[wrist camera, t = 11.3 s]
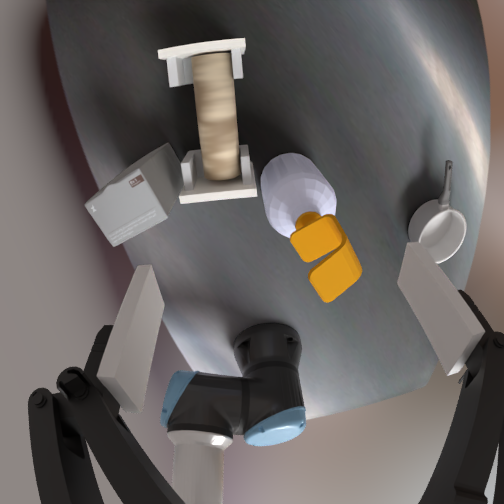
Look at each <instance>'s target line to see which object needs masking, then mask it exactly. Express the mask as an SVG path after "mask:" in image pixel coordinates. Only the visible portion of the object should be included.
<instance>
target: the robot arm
mask: <svg viewBox="0 0 504 504" xmlns="http://www.w3.org/2000/svg"><path fill="white" fill-rule="evenodd" d="M397 284H398V286H399V288H400V289H401V291H402V293H403V294H404V296H405V298H406V299H407V301H408V303H409V305H410V306H411V308H412V310H413V312H414V313H415V315H416V317H417V319H418V320H419V322H420V324H421V326H422V328H423V330H424V331H425V333H426V335H427V337H428V339H429V341H430V343H431V345H432V347H433V348H434V350H435V352H436V354H437V356H438V358H439V360H440V362H441V364H442V366H443V368H444V371H445V373H446V375H447V376H448V375H451V374H454V373H457V372H459V371H460V370H461V369H462V367H463V366H464V364H466V366H467V368H468V369H467V370H466V372H465V373H464V375H463V376H462V377H461V379H460V380H459V382H458V383H459V384H460V383H461V381H462V380H463V379H464V380H463V384H462V389H461V393H460V396H459V400H458V404H457V407H456V411H455V414H454V417H453V421H452V424H451V427H450V430H449V433H448V436H447V439H446V442H445V444H444V447H443V450H442V453H441V455H440V458H439V460H438V463H437V465H436V468H435V470H434V472H433V475H432V477H431V479H430V482H429V484H428V486H427V488H426V490H425V492H424V494H423V496H422V499H421V500H420V502H419V503H418V504H487V503H488V500H487V497H486V496H485V495H484V491H485V488H486V485H487V482H488V479H489V475H490V473H491V469H492V466H493V462H494V459H495V455H496V451H497V447H498V443H499V450H498V451H499V452H498V466H497V476H496V485H495V494H494V500H493V504H504V334H503V333H501V332H494V331H493V330H492V328H491V327H490V325H489V324H488V322H487V321H486V319H485V318H484V316H483V315H482V313H481V312H480V311H479V310H478V308H477V306H476V305H474V302H473V301H472V299H471V298H470V297H469V295H467V294H466V293H465V292H464V291H462V290H457V289H456V288H455V287H454V285H453V284H452V283H451V281H450V280H449V279H448V277H447V276H446V275H445V274H444V272H443V271H442V270H441V268H440V267H439V266H438V265H437V263H436V262H435V261H434V260H433V258H432V257H431V256H430V255H429V254H428V252H427V251H426V250H425V249H424V247H423V246H422V245H421V244H420V243H419V242H411V243H407V246H406V250H405V254H404V259H403V263H402V267H401V271H400V274H399V278H398V282H397ZM164 306H165V304H164V301H163V298H162V295H161V292H160V289H159V286H158V283H157V280H156V277H155V274H154V271H153V268H152V264H150V265H138V266H137V268H136V270H135V273H134V275H133V278H132V280H131V282H130V285H129V287H128V290H127V292H126V295H125V297H124V300H123V302H122V305H121V308H120V310H119V313H118V315H117V318H116V321H115V323H114V325H104V326H103V328H102V329H101V330H100V331H99V332H98V334H97V336H96V339H95V342H94V345H93V347H92V349H91V352H90V355H89V357H88V361H87V363H86V366H85V369H84V371H83V370H82V369H81V368H78V367H69V368H67V369H65V370H64V371H63V372H61V374H60V375H59V376H58V379H57V382H56V384H57V389H58V390H59V391H60V393H56V394H52V393H51V392H50V391H49V390H48V389H46V388H38V389H37V390H35V391H34V392H33V393H32V394H31V395H30V397H29V401H28V414H29V429H30V440H31V449H32V457H33V464H34V470H35V475H36V481H37V486H38V491H39V496H40V500H41V504H104V502H103V499H102V496H101V494H100V490H99V488H98V484H97V481H96V478H95V474H94V471H93V467H92V463H91V460H90V456H89V452H88V448H87V444H86V441H87V443H88V445H89V447H90V449H91V450H92V452H93V454H94V456H95V458H96V460H97V462H98V463H99V465H100V467H101V469H102V470H103V472H104V474H105V476H106V477H107V479H108V480H109V482H110V484H111V485H112V487H113V489H114V490H115V491H116V493H117V495H118V496H119V498H120V499H121V501H122V502H123V504H223V465H224V463H223V462H224V450H225V449H226V448H227V447H228V446H229V445H230V444H231V443H232V442H233V435H244V440H245V441H246V443H247V444H250V445H253V446H268V445H274V444H278V443H282V442H285V441H288V440H291V439H293V438H294V437H296V436H298V435H299V434H300V433H302V431H303V430H304V428H305V426H306V417H305V411H306V409H305V407H304V401H303V396H302V390H301V385H300V379H299V374H298V366H299V362H300V357H301V352H302V345H301V340H300V336H299V335H298V333H297V332H296V331H295V330H294V329H292V328H290V327H288V326H285V325H282V324H274V323H268V324H260V325H256V326H253V327H250V328H248V329H246V330H245V331H243V332H242V333H241V334H239V336H238V337H237V338H236V340H235V342H234V356H235V359H236V361H237V364H238V366H239V368H240V371H241V373H242V375H243V377H234V376H226V375H218V374H210V373H203V372H199V371H195V372H193V371H183V370H180V371H177V372H175V373H174V374H173V375H172V377H171V379H170V382H169V385H168V388H167V391H166V394H165V398H164V402H163V409H162V413H161V420H160V423H161V425H162V426H164V427H165V428H168V431H167V437H168V438H169V439H170V440H171V441H172V443H173V444H174V446H175V450H174V463H173V477H172V487H171V486H170V485H169V484H168V483H167V481H166V480H165V479H164V477H163V476H162V475H161V474H160V472H159V471H158V470H157V468H156V467H155V466H154V465H153V463H152V462H151V460H150V459H149V457H148V456H147V455H146V453H145V452H144V451H143V449H142V448H141V446H140V445H139V443H138V442H137V440H136V439H135V438H134V436H133V434H132V433H131V431H130V430H129V428H128V427H127V425H126V424H125V422H124V420H123V419H122V417H121V416H120V415H119V409H120V406H121V407H122V408H123V410H124V411H125V412H131V413H142V410H143V404H144V399H145V394H146V388H147V383H148V378H149V373H150V368H151V363H152V359H153V354H154V349H155V344H156V340H157V336H158V332H159V327H160V323H161V319H162V315H163V310H164Z"/></svg>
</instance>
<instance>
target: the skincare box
mask: <svg viewBox="0 0 504 504" xmlns="http://www.w3.org/2000/svg"><path fill="white" fill-rule="evenodd" d="M183 186H184V180H183V174H182V168H181V163H180V161H179V159H178V158H177V156H176V154H175V152H174V150H173V149H172V147H171V145H170V144H169V143H166V144H164V145H162V146H161V147H159V148H157V149H155V150H154V151H152V152H150V153H149V154H147V155H145V156H144V157H142V158H141V159H139V160H138V161H136V162H135V163H133V164H132V165H130V166H129V167H128V168H126V169H125V170H124V171H123V172H121V173H120V174H119V175H118V176H116V177H115V178H114V179H113V180H111V181H110V182H109V183H108V184H107V185H106V186H104V187H103V188H102V189H101V190H100V191H98V192H97V193H96V194H95V195H94V196H93V197H92V198H91V199H89V200H88V201H87V202H86V203H85V207H86V209H87V210H88V212H89V213H90V214H91V216H92V217H93V219H94V220H95V222H96V223H97V224H98V226H99V227H100V229H101V230H102V232H103V233H104V235H105V236H106V238H107V239H108V240H109V242H110V243H111V244H112V246H113V247H115V246H117V245H119V244H121V243H123V242H125V241H126V240H128V239H130V238H132V237H134V236H136V235H138V234H140V233H141V232H143V231H145V230H147V229H149V228H151V227H153V226H154V225H156V224H158V223H160V222H162V221H164V220H165V219H167V218H168V216H169V214H170V212H171V210H172V207H173V205H174V203H175V201H176V199H177V197H178V195H179V193H180V191H181V189H182V187H183Z"/></svg>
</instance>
